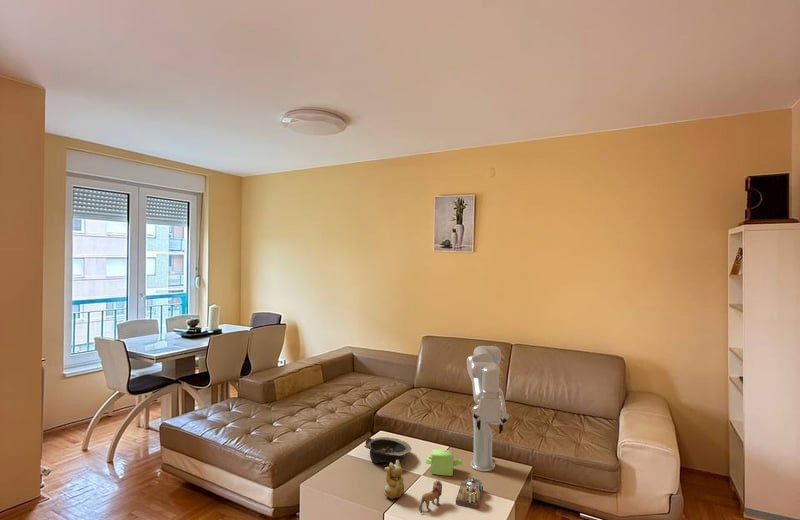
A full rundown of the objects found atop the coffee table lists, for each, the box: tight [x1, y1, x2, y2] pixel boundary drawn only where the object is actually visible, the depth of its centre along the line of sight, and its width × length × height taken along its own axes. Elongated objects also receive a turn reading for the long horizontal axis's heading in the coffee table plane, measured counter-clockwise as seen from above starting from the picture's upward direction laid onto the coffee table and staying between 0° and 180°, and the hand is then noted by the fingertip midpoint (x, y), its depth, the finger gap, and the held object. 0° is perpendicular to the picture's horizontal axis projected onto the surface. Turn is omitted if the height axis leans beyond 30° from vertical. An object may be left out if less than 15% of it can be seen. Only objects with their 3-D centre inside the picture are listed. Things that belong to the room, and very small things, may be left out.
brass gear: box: [462, 486, 480, 503], centre depth 185 cm, size 7×7×4 cm
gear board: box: [455, 482, 484, 509], centre depth 190 cm, size 15×10×6 cm, turn 162°
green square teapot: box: [425, 448, 463, 477], centre depth 213 cm, size 18×10×10 cm, turn 83°
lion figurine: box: [418, 480, 443, 514], centre depth 182 cm, size 15×5×9 cm, turn 142°
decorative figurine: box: [383, 460, 405, 501], centre depth 190 cm, size 10×8×15 cm
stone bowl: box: [363, 436, 413, 465], centre depth 226 cm, size 25×25×9 cm
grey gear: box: [464, 477, 483, 491], centre depth 193 cm, size 7×7×4 cm
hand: (489, 430), depth 195 cm, fingers open, 9 cm apart
